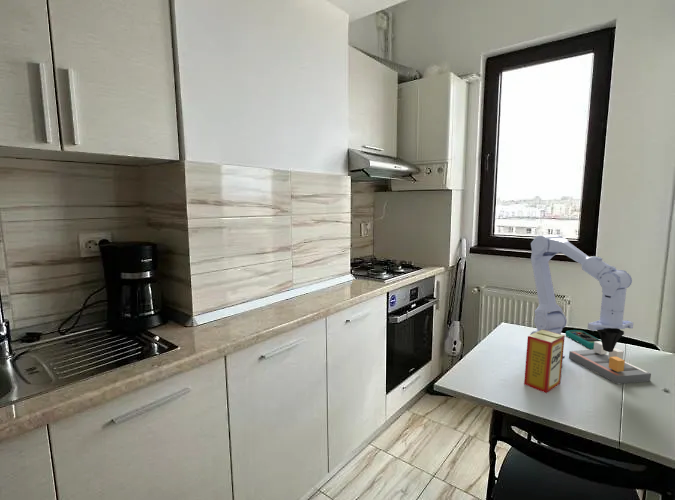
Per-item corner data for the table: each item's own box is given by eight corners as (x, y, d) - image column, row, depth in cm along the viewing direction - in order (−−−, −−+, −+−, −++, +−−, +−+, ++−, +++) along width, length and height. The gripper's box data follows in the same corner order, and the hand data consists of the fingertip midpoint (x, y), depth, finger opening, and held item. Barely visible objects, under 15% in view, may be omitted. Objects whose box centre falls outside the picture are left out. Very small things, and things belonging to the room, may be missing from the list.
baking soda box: (546, 393, 105) (550, 341, 103) (524, 384, 111) (527, 334, 108) (560, 383, 111) (564, 334, 109) (538, 375, 116) (542, 328, 114)
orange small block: (617, 371, 113) (618, 360, 112) (608, 367, 116) (609, 356, 115) (623, 371, 113) (624, 360, 113) (614, 366, 116) (616, 356, 115)
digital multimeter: (580, 335, 152) (581, 329, 152) (608, 350, 137) (609, 342, 137) (564, 336, 152) (564, 329, 152) (589, 350, 137) (590, 343, 137)
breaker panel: (617, 383, 111) (619, 364, 110) (568, 357, 129) (570, 340, 129) (650, 381, 113) (652, 361, 112) (597, 355, 131) (599, 338, 130)
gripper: (603, 314, 106) (598, 357, 108) (644, 311, 108) (639, 354, 110) (583, 307, 113) (579, 348, 115) (622, 305, 115) (618, 345, 117)
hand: (607, 350), depth 113 cm, fingers closed
